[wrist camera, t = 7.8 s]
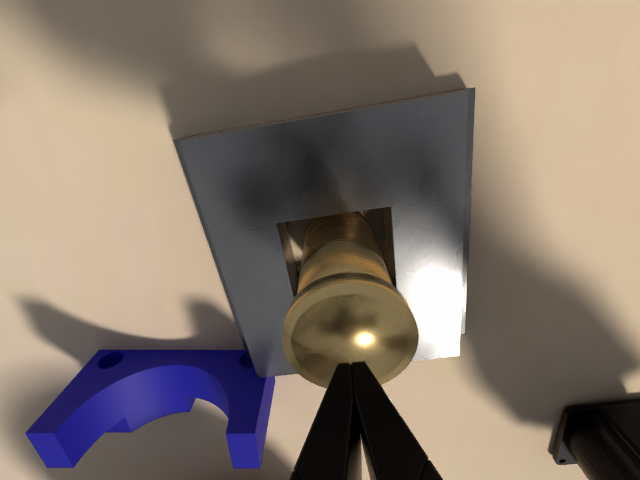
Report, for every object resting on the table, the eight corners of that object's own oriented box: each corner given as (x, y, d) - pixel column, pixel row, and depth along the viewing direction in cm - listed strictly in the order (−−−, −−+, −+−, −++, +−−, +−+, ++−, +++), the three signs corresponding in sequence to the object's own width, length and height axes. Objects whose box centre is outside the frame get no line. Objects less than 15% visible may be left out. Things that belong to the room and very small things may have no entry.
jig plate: (459, 325, 20) (477, 354, 18) (250, 349, 21) (242, 379, 19) (467, 88, 14) (494, 86, 12) (180, 138, 15) (155, 145, 13)
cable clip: (119, 393, 23) (57, 483, 18) (100, 348, 21) (25, 433, 16) (276, 393, 23) (262, 483, 18) (272, 347, 21) (254, 433, 16)
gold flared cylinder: (382, 271, 18) (420, 384, 11) (307, 281, 19) (296, 396, 12) (375, 198, 17) (416, 276, 9) (292, 211, 17) (268, 296, 10)
